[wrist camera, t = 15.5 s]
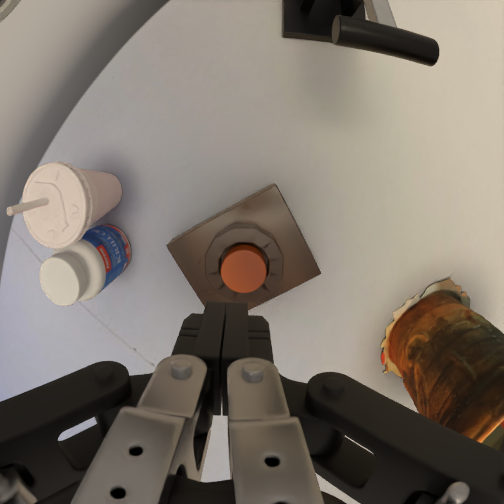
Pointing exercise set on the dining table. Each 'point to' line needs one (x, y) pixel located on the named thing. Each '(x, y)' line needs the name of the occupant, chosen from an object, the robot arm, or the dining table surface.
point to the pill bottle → (85, 265)
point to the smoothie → (65, 202)
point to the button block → (246, 233)
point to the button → (243, 269)
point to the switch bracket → (317, 17)
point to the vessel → (450, 362)
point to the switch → (383, 35)
